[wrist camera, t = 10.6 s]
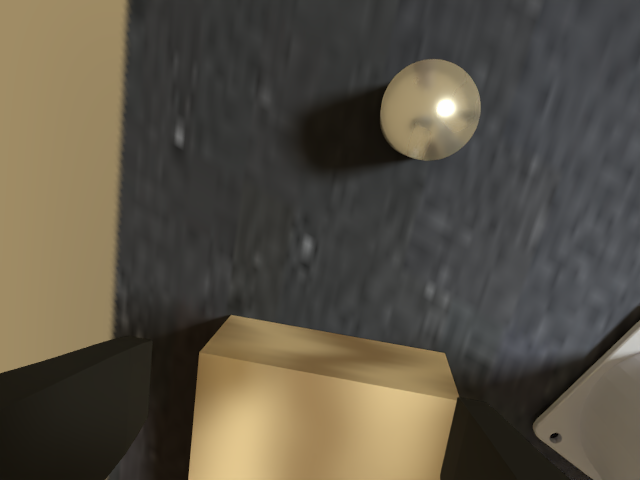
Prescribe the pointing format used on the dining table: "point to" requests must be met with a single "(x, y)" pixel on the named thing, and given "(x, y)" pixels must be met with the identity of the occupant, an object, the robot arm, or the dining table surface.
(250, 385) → the pin block
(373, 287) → the dining table surface
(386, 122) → the short pin
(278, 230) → the dining table surface
